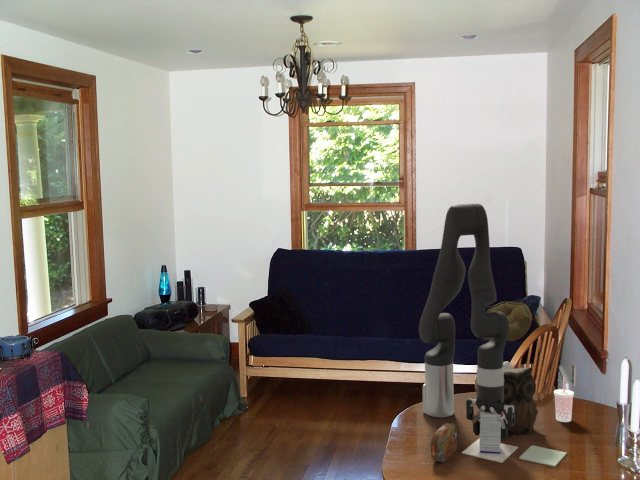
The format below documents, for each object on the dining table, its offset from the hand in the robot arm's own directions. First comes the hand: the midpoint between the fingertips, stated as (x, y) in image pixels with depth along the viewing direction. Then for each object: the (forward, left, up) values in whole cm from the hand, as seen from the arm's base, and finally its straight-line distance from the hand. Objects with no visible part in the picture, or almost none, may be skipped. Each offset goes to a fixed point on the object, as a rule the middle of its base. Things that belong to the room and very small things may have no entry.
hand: (490, 437), depth 210 cm
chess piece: (-10, +40, -4) cm, 42 cm away
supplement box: (0, 0, -4) cm, 4 cm away
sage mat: (+14, +4, -4) cm, 15 cm away
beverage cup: (+10, +35, -4) cm, 37 cm away
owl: (-1, +19, -4) cm, 20 cm away
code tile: (0, 0, -4) cm, 4 cm away
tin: (-10, -10, -4) cm, 14 cm away
